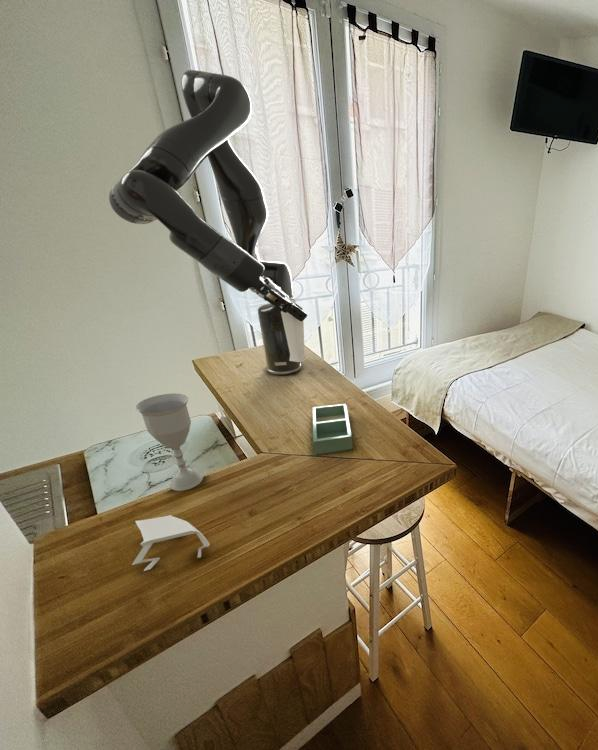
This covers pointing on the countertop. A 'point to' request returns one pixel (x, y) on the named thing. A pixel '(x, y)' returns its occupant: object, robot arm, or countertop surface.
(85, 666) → the countertop surface
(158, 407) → the chalice
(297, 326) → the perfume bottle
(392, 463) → the countertop surface
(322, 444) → the holder
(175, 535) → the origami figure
